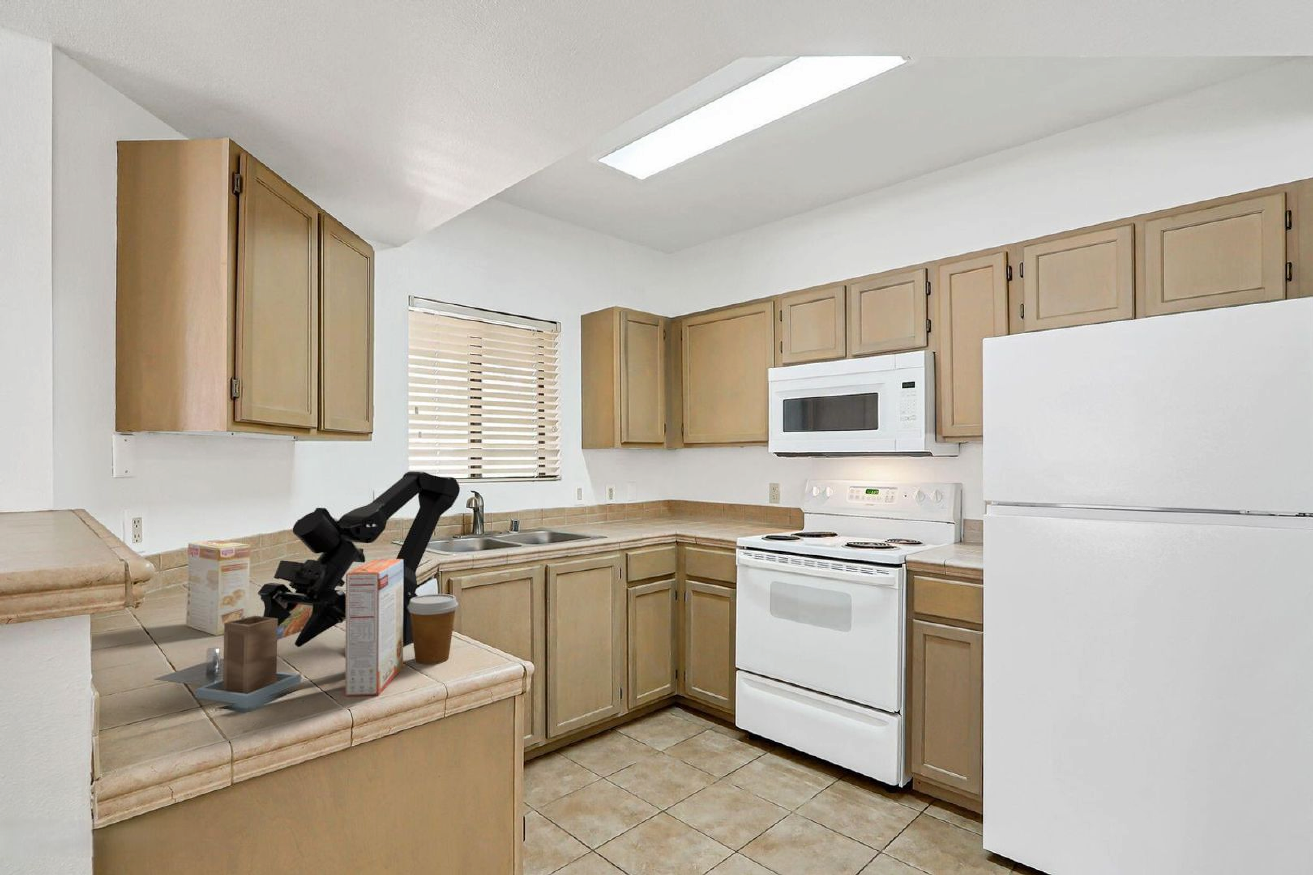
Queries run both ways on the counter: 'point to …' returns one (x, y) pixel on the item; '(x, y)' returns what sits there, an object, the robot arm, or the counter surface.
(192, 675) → the plate
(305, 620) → the tin
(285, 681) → the slate tray
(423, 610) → the disposable coffee cup
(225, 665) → the walnut collar
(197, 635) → the counter surface
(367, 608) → the cracker box
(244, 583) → the coffeecake box
